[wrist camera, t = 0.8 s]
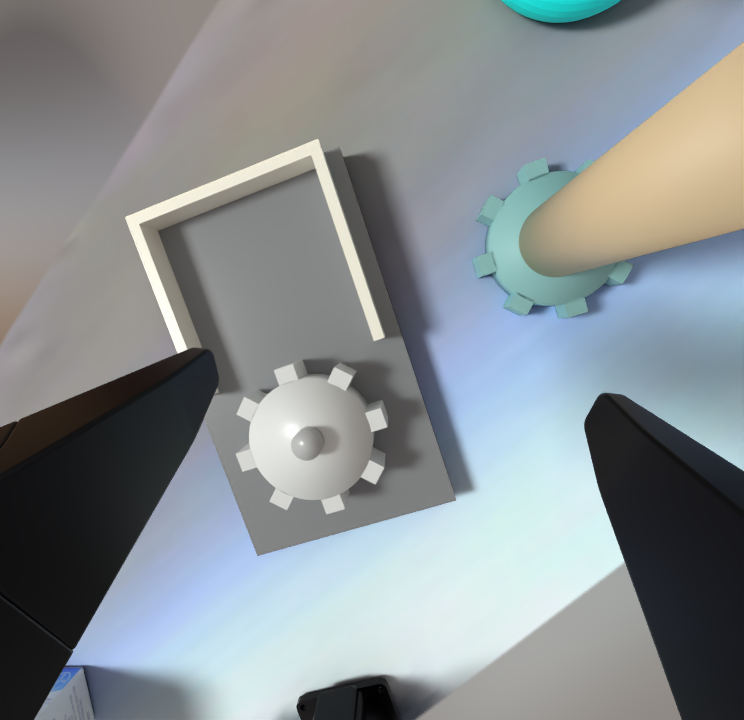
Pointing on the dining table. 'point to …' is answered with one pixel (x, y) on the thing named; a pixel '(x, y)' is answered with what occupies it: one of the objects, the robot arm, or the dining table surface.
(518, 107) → the dining table surface
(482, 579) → the dining table surface
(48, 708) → the medicine box
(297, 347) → the carrier plate
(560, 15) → the donuts
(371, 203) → the dining table surface
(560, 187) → the gear
